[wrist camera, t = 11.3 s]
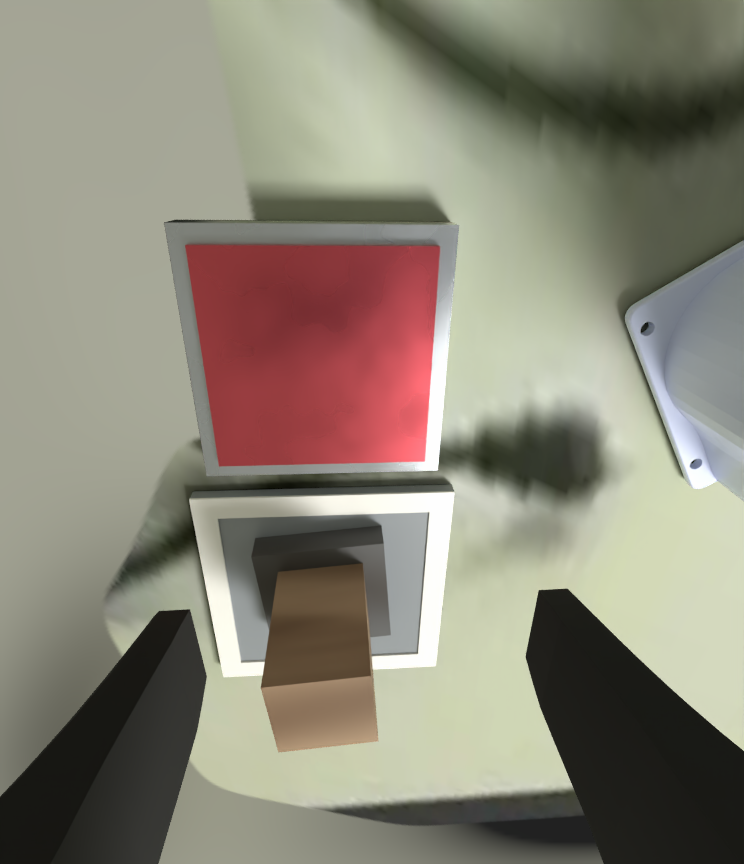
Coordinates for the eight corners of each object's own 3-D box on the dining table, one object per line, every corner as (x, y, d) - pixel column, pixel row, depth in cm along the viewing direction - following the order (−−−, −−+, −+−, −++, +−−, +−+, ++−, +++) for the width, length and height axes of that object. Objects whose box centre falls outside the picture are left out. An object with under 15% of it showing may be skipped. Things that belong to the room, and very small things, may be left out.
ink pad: (432, 455, 20) (439, 474, 19) (213, 460, 20) (204, 480, 18) (450, 222, 16) (461, 225, 15) (175, 219, 16) (160, 223, 14)
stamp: (388, 615, 24) (405, 753, 18) (275, 626, 24) (256, 769, 18) (381, 525, 21) (398, 653, 15) (255, 537, 21) (225, 672, 15)
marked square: (433, 656, 26) (435, 666, 26) (225, 666, 25) (223, 677, 25) (451, 484, 21) (454, 492, 21) (192, 491, 20) (189, 499, 20)
